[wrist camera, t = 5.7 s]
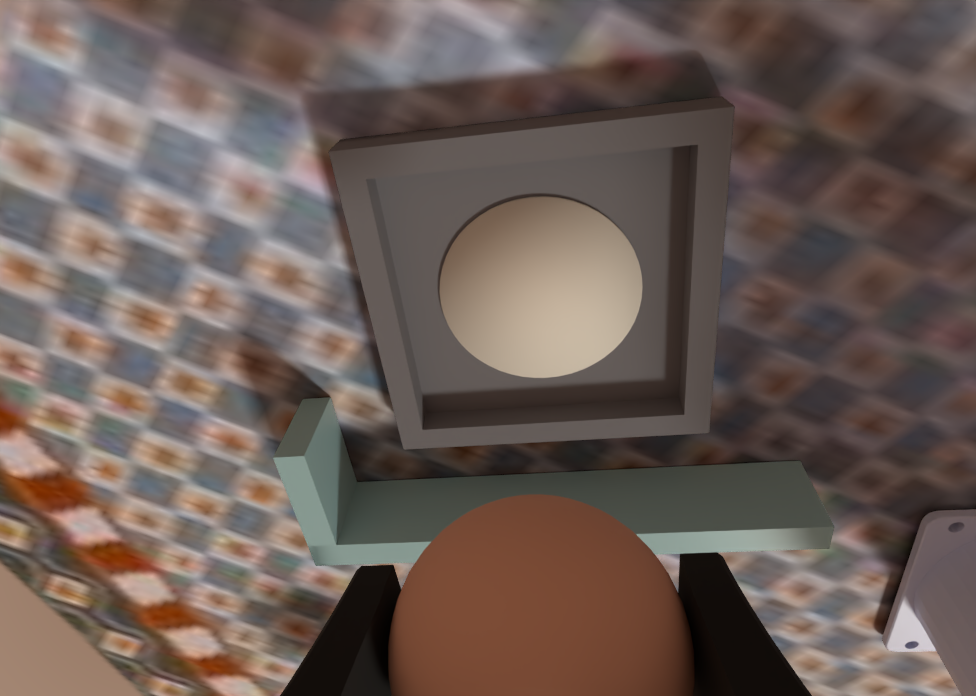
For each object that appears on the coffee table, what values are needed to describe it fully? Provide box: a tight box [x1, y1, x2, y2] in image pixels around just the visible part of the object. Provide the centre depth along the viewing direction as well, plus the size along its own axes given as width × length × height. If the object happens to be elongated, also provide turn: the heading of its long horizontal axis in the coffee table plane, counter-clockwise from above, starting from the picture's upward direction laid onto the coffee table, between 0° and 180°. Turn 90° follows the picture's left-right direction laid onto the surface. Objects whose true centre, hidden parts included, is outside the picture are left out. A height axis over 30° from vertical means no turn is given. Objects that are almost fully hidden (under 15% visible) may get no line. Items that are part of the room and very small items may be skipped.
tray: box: [329, 97, 735, 450], centre depth 19 cm, size 10×10×1 cm
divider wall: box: [273, 397, 834, 566], centre depth 21 cm, size 17×5×3 cm, turn 97°
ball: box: [388, 494, 695, 696], centre depth 11 cm, size 5×5×5 cm
